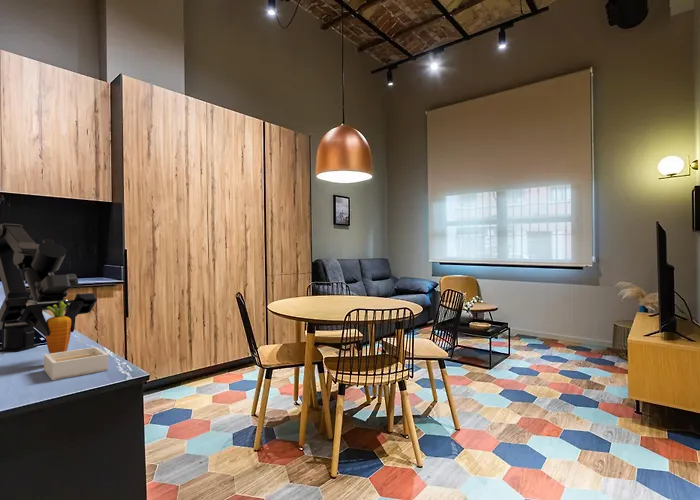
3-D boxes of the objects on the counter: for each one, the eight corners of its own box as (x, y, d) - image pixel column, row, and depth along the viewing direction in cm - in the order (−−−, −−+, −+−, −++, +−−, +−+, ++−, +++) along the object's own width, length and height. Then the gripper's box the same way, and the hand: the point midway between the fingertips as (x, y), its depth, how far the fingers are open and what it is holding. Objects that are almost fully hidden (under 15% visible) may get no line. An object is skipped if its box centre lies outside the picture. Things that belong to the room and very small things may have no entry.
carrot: (56, 366, 89) (57, 303, 89) (39, 365, 90) (40, 302, 90) (75, 361, 93) (77, 300, 94) (59, 360, 94) (60, 300, 95)
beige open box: (43, 370, 86) (44, 354, 86) (96, 361, 93) (96, 347, 94) (52, 380, 79) (52, 363, 79) (108, 370, 87) (108, 354, 87)
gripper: (4, 263, 86) (21, 316, 80) (94, 263, 102) (114, 307, 96) (-9, 295, 90) (7, 348, 84) (80, 290, 106) (98, 334, 100)
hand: (60, 332), depth 91 cm, fingers closed on carrot, 5 cm apart
